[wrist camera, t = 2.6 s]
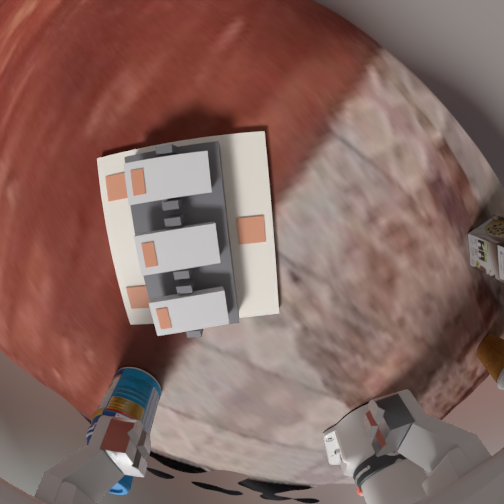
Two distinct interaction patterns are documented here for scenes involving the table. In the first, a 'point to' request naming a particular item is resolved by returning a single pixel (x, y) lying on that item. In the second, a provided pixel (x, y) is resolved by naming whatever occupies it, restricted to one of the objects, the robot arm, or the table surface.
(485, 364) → the disposable coffee cup
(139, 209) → the switch unit
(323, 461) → the table surface
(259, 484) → the table surface
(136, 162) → the rocker
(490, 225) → the coffee box
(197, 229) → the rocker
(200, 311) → the white rectangular block
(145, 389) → the beverage bottle
